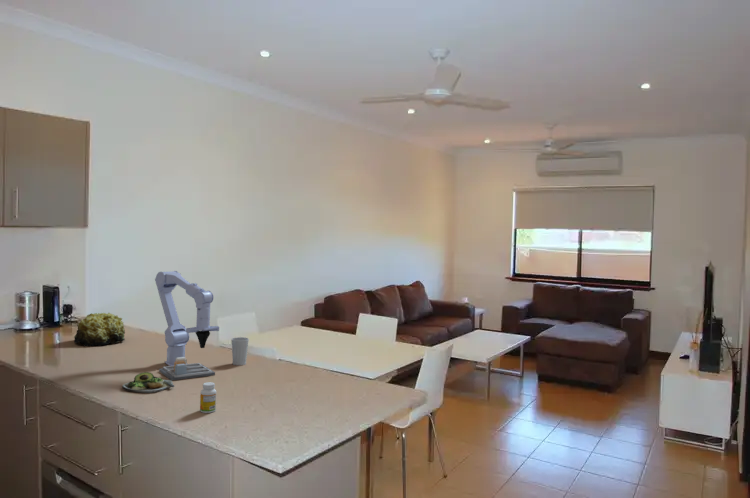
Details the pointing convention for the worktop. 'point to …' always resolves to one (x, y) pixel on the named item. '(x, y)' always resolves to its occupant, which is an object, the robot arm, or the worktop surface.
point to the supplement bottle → (208, 398)
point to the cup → (239, 350)
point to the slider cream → (181, 359)
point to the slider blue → (180, 369)
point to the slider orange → (178, 363)
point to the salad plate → (147, 383)
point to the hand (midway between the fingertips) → (202, 347)
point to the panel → (192, 372)
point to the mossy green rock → (100, 329)
